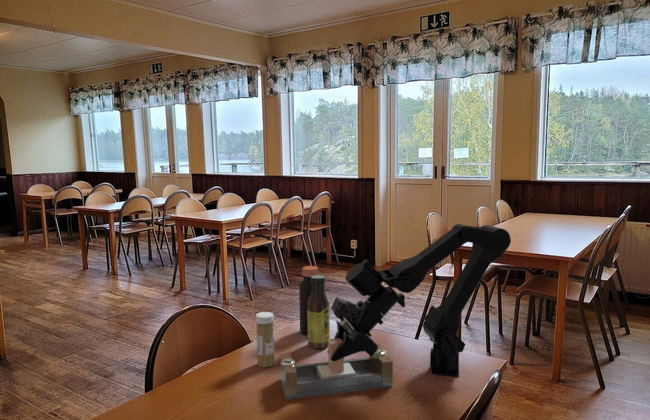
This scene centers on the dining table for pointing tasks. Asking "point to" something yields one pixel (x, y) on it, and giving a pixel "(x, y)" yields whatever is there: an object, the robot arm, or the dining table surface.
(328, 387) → the rail
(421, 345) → the dining table surface
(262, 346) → the sprinkles bottle
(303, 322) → the vinegar
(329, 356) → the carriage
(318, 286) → the sauce bottle
